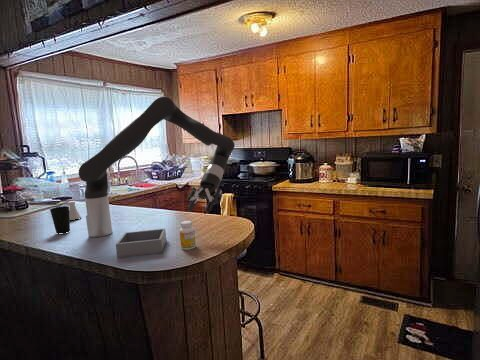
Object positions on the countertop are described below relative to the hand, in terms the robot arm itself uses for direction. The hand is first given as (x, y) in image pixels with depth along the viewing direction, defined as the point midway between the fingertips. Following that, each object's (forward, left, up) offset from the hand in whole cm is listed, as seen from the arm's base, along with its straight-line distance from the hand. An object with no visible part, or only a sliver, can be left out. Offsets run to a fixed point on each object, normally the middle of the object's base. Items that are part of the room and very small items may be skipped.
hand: (198, 211), depth 116 cm
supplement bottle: (-4, -6, -12) cm, 14 cm away
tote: (-21, -2, -12) cm, 25 cm away
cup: (-64, +33, -12) cm, 73 cm away
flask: (-69, +59, -12) cm, 92 cm away
